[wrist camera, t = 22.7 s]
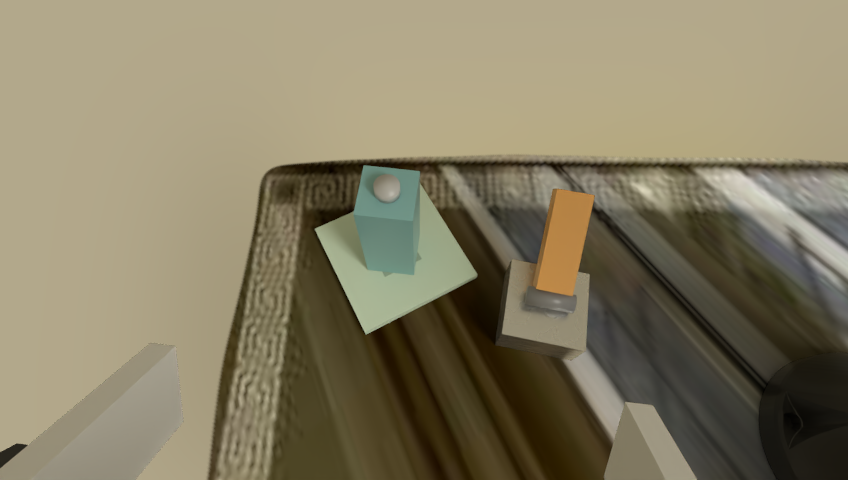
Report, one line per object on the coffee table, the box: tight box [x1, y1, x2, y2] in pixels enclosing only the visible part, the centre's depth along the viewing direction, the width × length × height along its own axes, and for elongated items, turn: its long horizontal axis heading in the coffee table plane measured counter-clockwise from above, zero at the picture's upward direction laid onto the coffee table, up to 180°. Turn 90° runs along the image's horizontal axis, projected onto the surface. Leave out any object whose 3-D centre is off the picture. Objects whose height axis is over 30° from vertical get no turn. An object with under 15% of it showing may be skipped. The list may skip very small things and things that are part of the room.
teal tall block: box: [353, 165, 420, 275], centre depth 40 cm, size 4×4×12 cm
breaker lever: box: [524, 189, 595, 313], centre depth 38 cm, size 2×4×10 cm
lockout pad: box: [315, 184, 477, 334], centre depth 45 cm, size 12×12×1 cm
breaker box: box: [495, 259, 590, 361], centre depth 41 cm, size 7×7×4 cm
